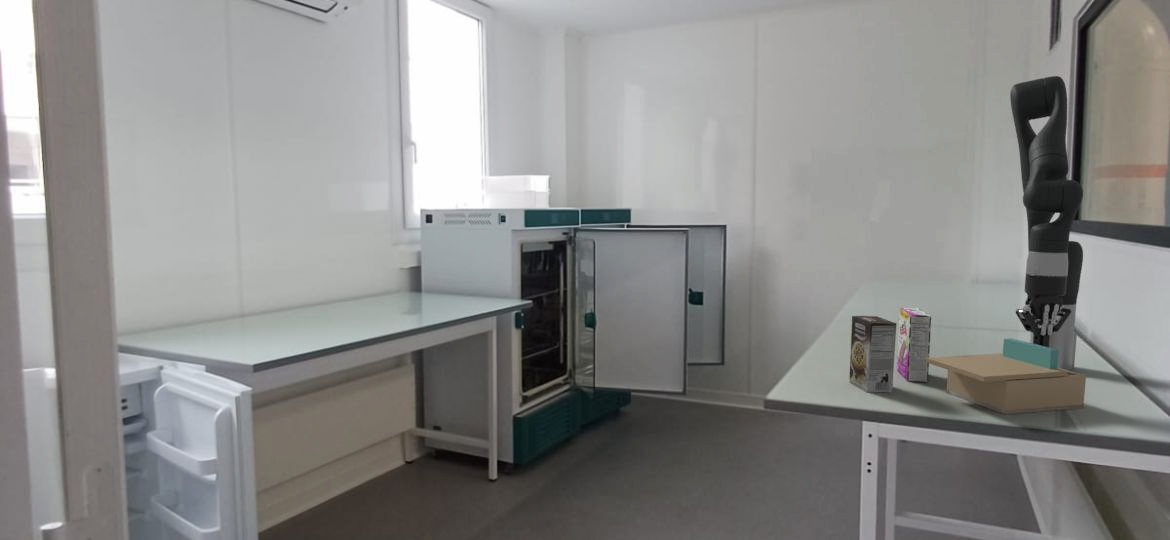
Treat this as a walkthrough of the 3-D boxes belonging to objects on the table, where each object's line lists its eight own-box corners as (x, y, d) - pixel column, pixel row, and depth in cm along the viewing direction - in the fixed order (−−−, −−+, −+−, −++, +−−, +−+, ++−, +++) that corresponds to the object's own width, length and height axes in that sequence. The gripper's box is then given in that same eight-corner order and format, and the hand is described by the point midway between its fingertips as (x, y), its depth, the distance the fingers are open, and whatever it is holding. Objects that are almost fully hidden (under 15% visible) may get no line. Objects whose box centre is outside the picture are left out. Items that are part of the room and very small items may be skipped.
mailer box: (1019, 387, 160) (1021, 358, 159) (1083, 407, 144) (1086, 375, 144) (946, 392, 155) (948, 362, 154) (1004, 414, 140) (1007, 380, 139)
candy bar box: (895, 370, 175) (898, 307, 173) (916, 371, 174) (919, 307, 172) (906, 381, 164) (910, 314, 163) (928, 383, 163) (932, 315, 162)
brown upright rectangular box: (847, 381, 164) (850, 315, 162) (873, 381, 165) (876, 315, 163) (866, 392, 155) (870, 322, 153) (893, 392, 155) (897, 322, 154)
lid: (1001, 357, 158) (1002, 336, 158) (1066, 375, 142) (1068, 352, 142) (925, 362, 153) (926, 340, 153) (984, 381, 137) (985, 357, 137)
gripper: (1055, 270, 153) (1049, 346, 155) (1006, 271, 150) (1001, 348, 152) (1087, 274, 146) (1080, 353, 148) (1036, 275, 143) (1030, 356, 145)
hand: (1040, 351), depth 150 cm, fingers closed
